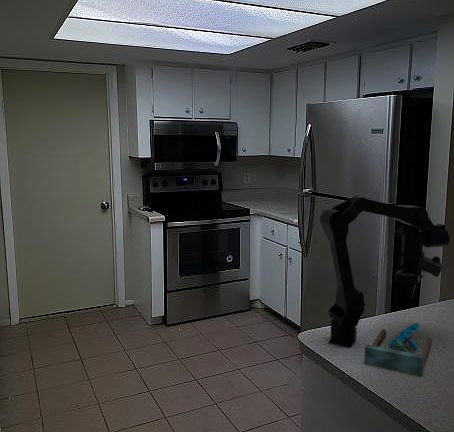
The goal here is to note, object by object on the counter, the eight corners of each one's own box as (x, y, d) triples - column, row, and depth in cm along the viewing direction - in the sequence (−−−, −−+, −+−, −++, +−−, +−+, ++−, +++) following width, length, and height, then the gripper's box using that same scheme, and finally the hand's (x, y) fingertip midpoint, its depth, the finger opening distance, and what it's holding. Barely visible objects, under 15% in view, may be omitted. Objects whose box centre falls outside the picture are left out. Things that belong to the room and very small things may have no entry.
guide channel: (364, 363, 121) (364, 347, 120) (381, 335, 139) (382, 321, 139) (421, 375, 114) (422, 358, 113) (431, 344, 132) (432, 329, 132)
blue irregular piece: (395, 332, 137) (420, 316, 131) (409, 349, 136) (435, 333, 129) (381, 349, 129) (407, 333, 123) (396, 367, 127) (423, 351, 121)
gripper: (438, 257, 124) (435, 313, 126) (445, 245, 140) (442, 294, 142) (395, 253, 129) (393, 306, 131) (406, 241, 145) (404, 289, 147)
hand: (409, 299), depth 138 cm, fingers closed
